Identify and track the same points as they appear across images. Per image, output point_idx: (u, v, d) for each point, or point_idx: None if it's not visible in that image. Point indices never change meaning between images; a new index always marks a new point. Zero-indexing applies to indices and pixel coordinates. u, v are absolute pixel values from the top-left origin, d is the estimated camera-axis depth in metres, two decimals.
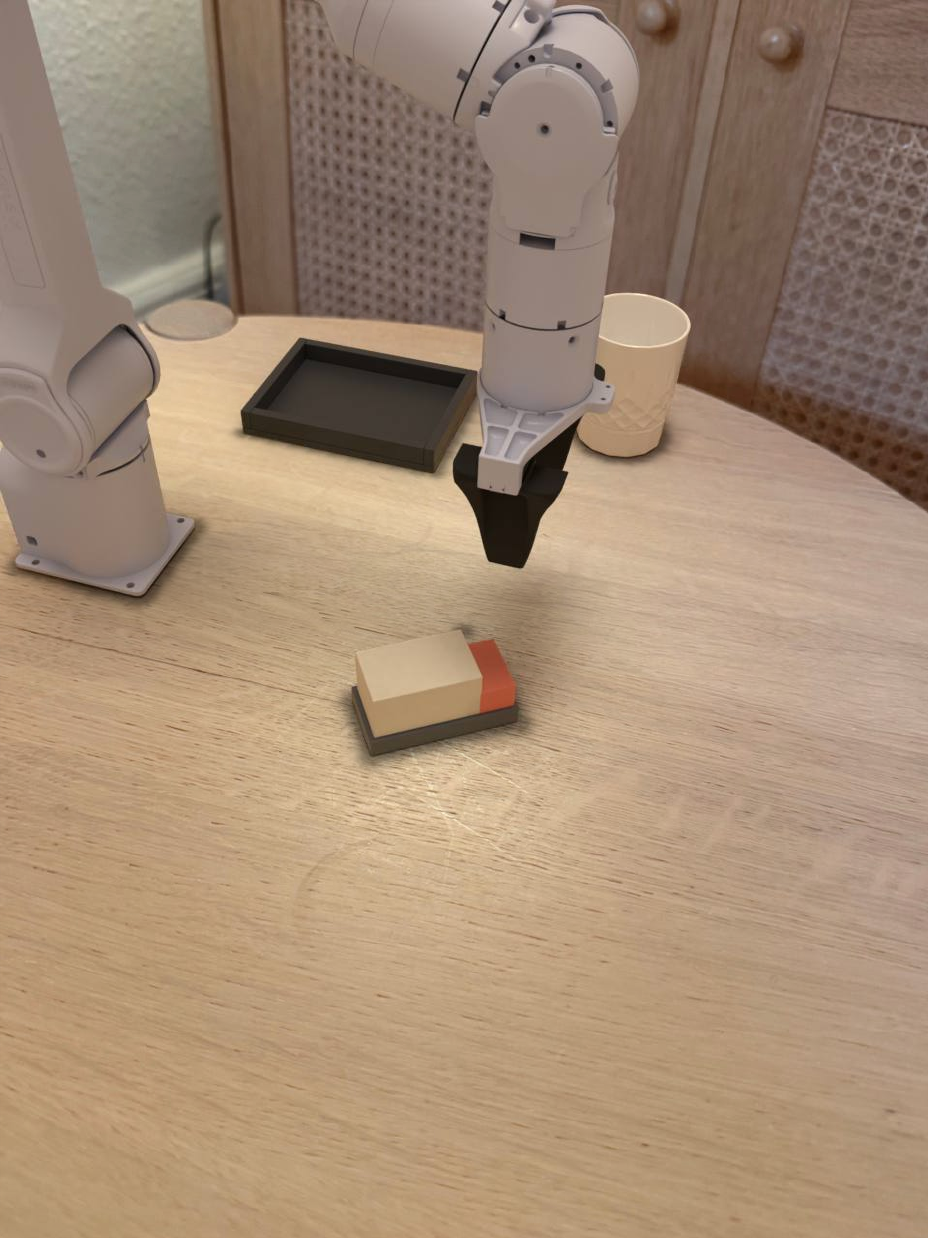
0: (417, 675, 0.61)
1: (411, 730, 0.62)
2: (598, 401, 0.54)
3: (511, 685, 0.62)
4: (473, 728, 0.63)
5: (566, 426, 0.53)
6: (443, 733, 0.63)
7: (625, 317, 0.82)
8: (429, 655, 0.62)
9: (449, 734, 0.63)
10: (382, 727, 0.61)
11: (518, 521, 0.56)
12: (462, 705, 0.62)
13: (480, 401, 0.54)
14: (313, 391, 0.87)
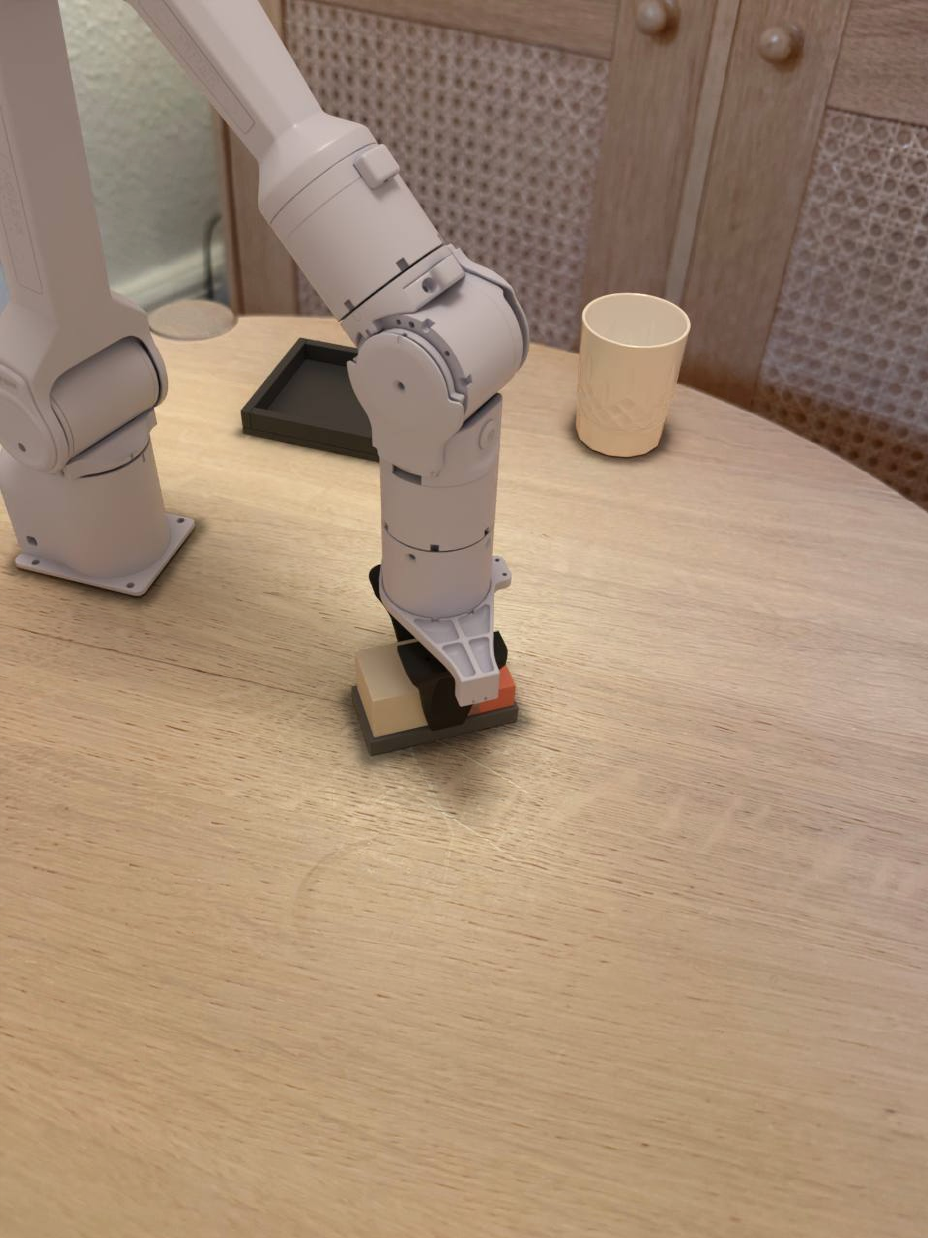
0: None
1: (411, 730, 0.62)
2: (502, 578, 0.57)
3: (511, 685, 0.62)
4: (473, 728, 0.63)
5: None
6: (443, 733, 0.63)
7: (625, 317, 0.82)
8: None
9: (449, 734, 0.63)
10: (382, 727, 0.61)
11: None
12: None
13: (412, 624, 0.55)
14: (313, 391, 0.87)
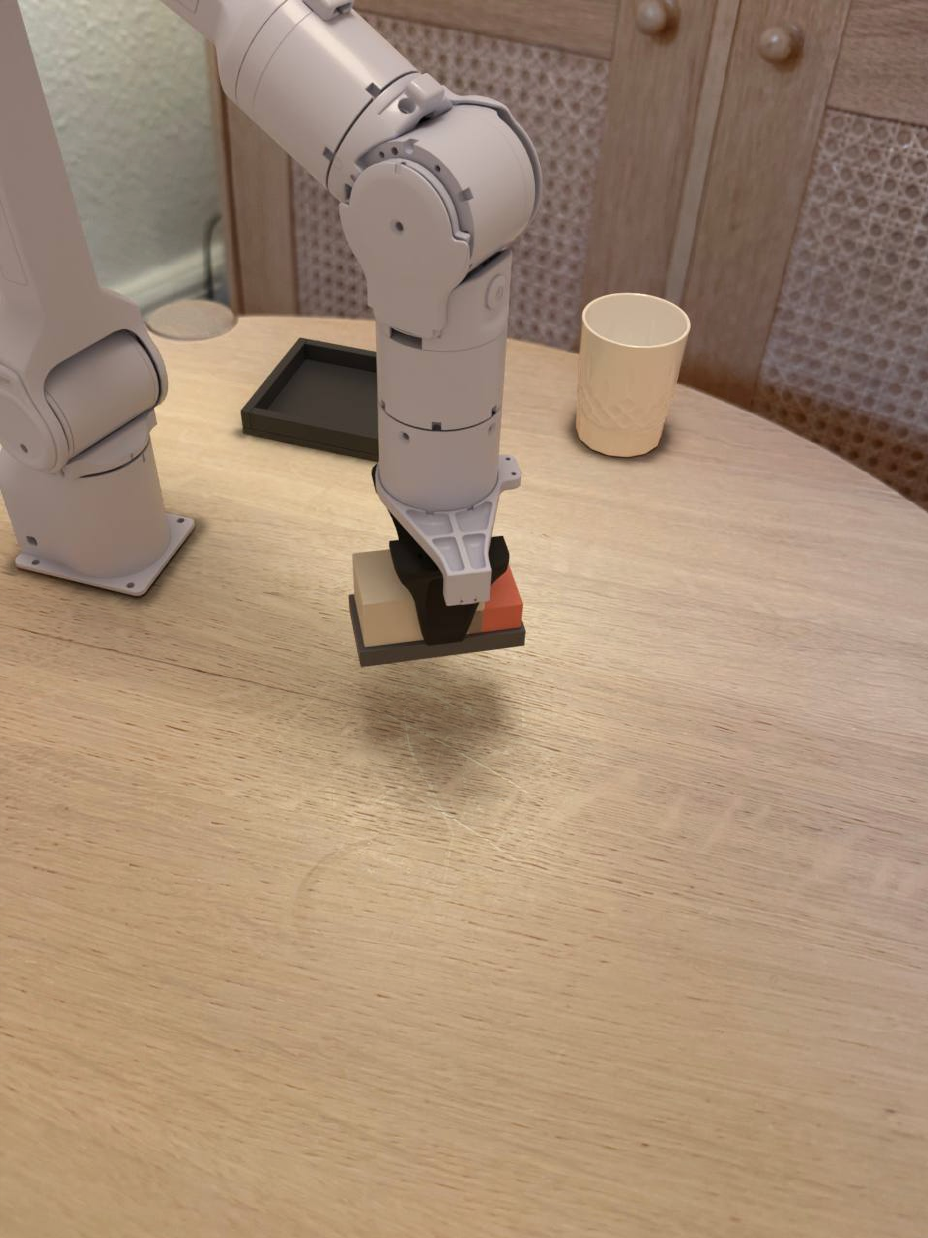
0: None
1: (405, 643, 0.57)
2: (511, 477, 0.52)
3: (518, 603, 0.57)
4: (474, 648, 0.58)
5: (495, 513, 0.51)
6: (441, 650, 0.58)
7: (625, 317, 0.82)
8: None
9: (447, 652, 0.58)
10: (373, 635, 0.56)
11: None
12: None
13: (403, 515, 0.50)
14: (313, 391, 0.87)
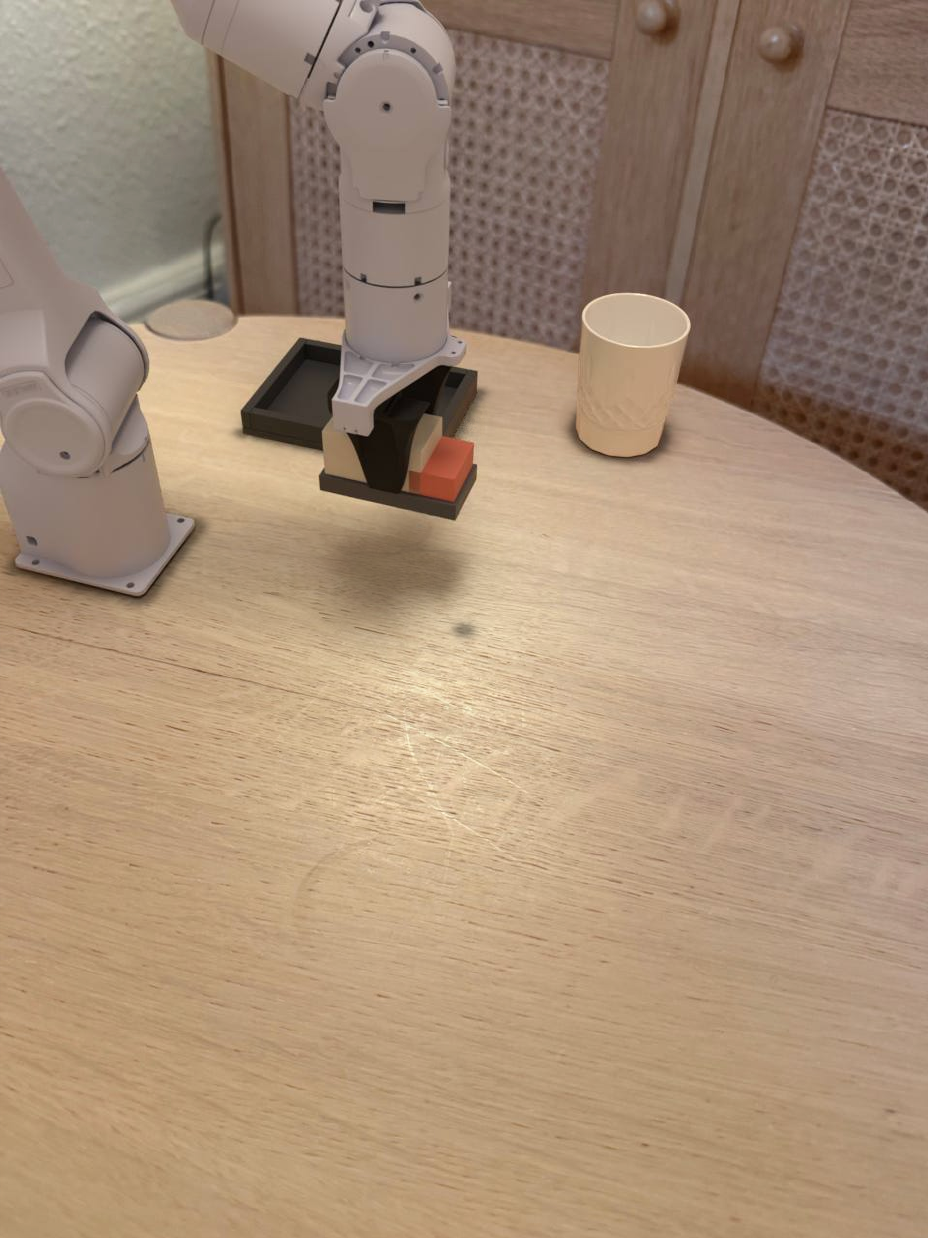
0: None
1: (357, 481, 0.67)
2: (448, 354, 0.60)
3: (451, 477, 0.65)
4: (412, 507, 0.67)
5: (418, 376, 0.59)
6: (384, 498, 0.67)
7: (625, 317, 0.82)
8: None
9: (390, 502, 0.67)
10: (331, 464, 0.67)
11: (390, 448, 0.63)
12: None
13: (341, 353, 0.60)
14: (313, 391, 0.87)
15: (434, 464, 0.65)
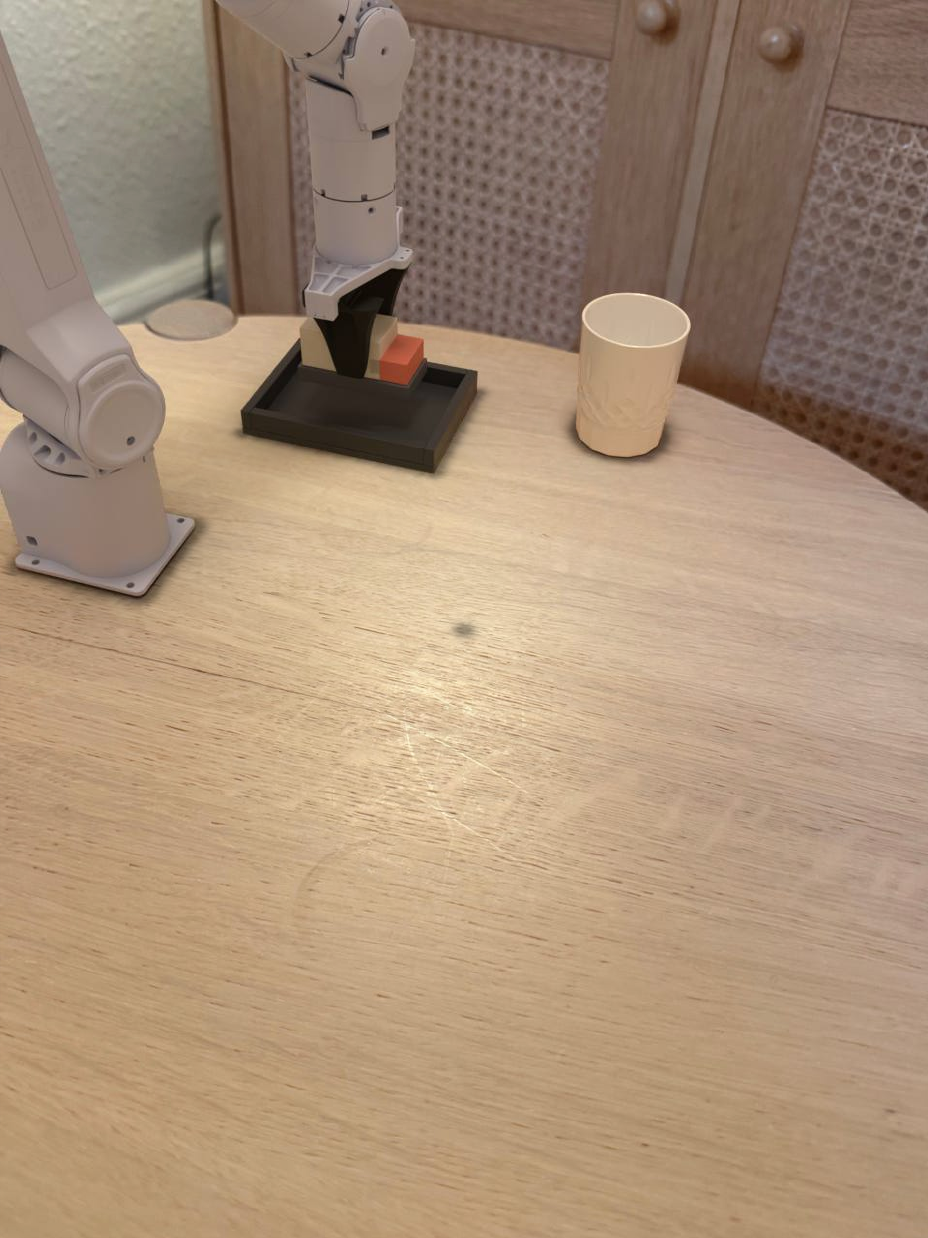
0: None
1: (328, 370, 0.82)
2: (398, 259, 0.76)
3: (404, 363, 0.80)
4: (373, 390, 0.82)
5: (373, 276, 0.75)
6: (351, 384, 0.82)
7: (625, 317, 0.82)
8: None
9: (355, 387, 0.82)
10: (307, 356, 0.82)
11: (353, 339, 0.79)
12: None
13: (313, 258, 0.75)
14: (313, 391, 0.87)
15: (390, 354, 0.81)
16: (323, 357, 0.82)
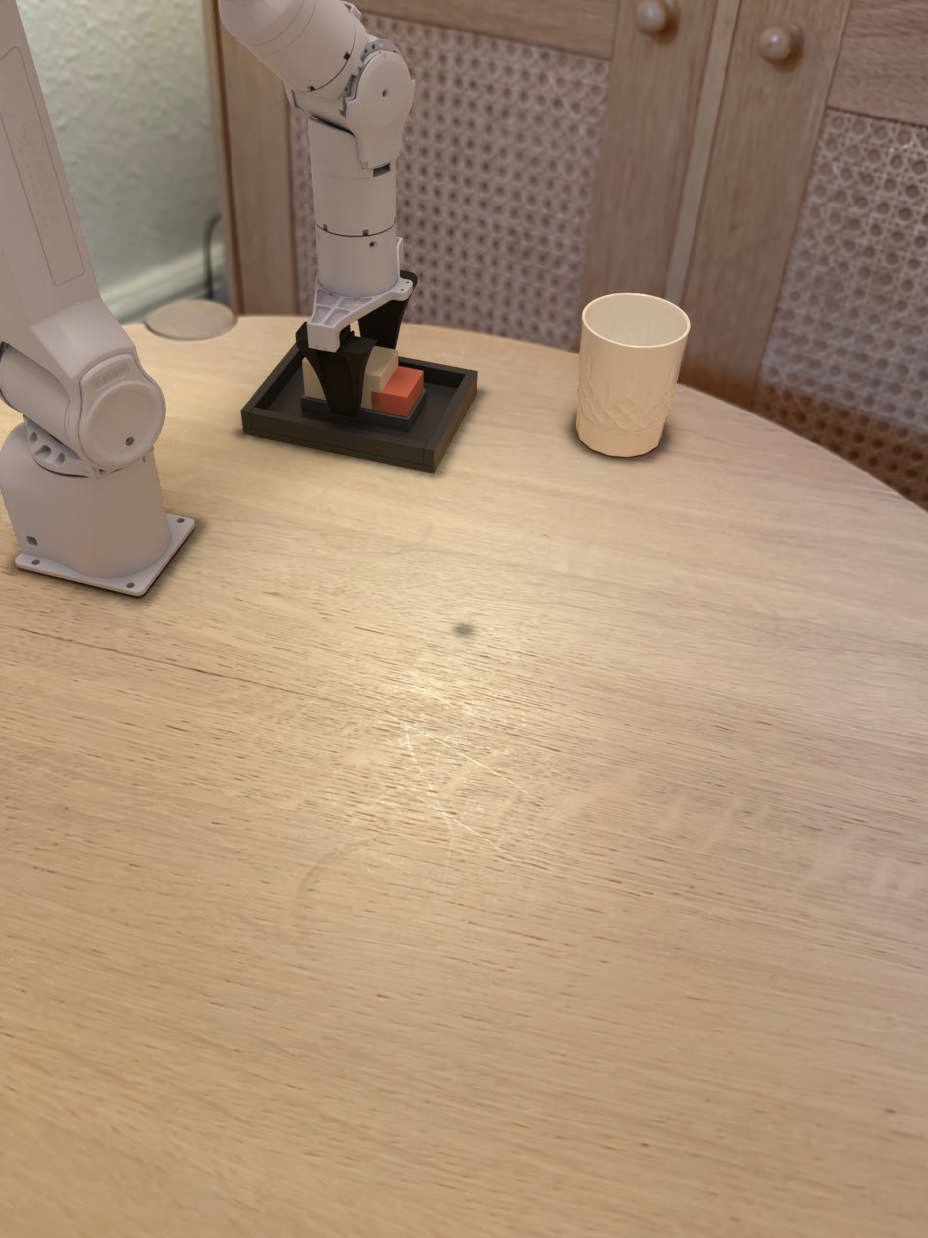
0: None
1: None
2: (398, 291, 0.77)
3: (404, 396, 0.82)
4: (374, 421, 0.84)
5: (374, 307, 0.77)
6: None
7: (625, 317, 0.82)
8: None
9: (356, 418, 0.84)
10: (309, 388, 0.84)
11: (347, 379, 0.79)
12: (367, 396, 0.83)
13: (315, 290, 0.77)
14: None
15: (391, 386, 0.83)
16: None
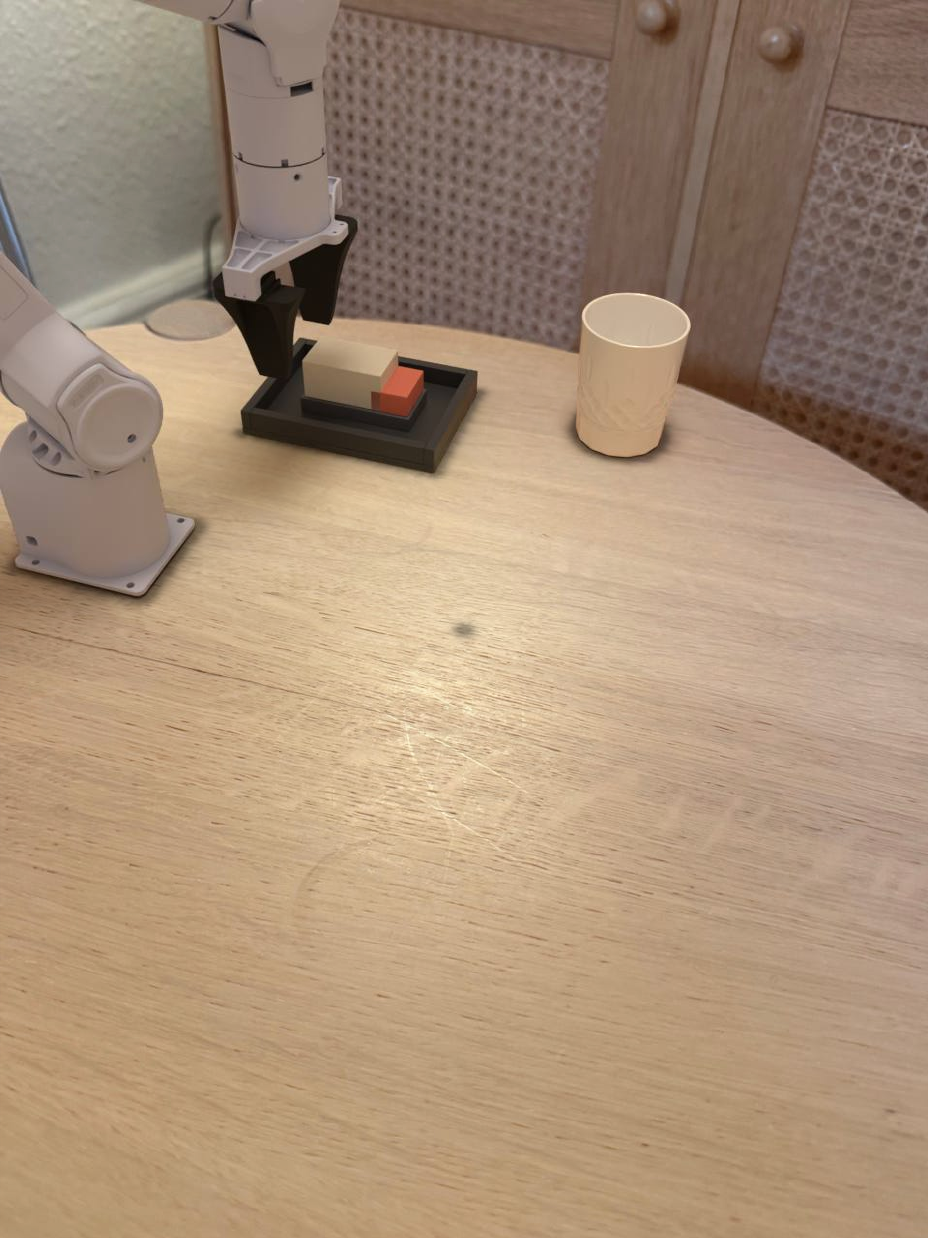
0: (342, 359, 0.83)
1: (330, 401, 0.84)
2: (330, 233, 0.68)
3: (404, 396, 0.82)
4: (374, 421, 0.84)
5: (302, 251, 0.67)
6: (352, 415, 0.84)
7: (625, 317, 0.82)
8: (362, 354, 0.83)
9: (356, 418, 0.84)
10: (309, 388, 0.84)
11: (274, 334, 0.70)
12: (367, 396, 0.83)
13: (235, 232, 0.68)
14: None
15: (391, 386, 0.83)
16: (325, 389, 0.84)
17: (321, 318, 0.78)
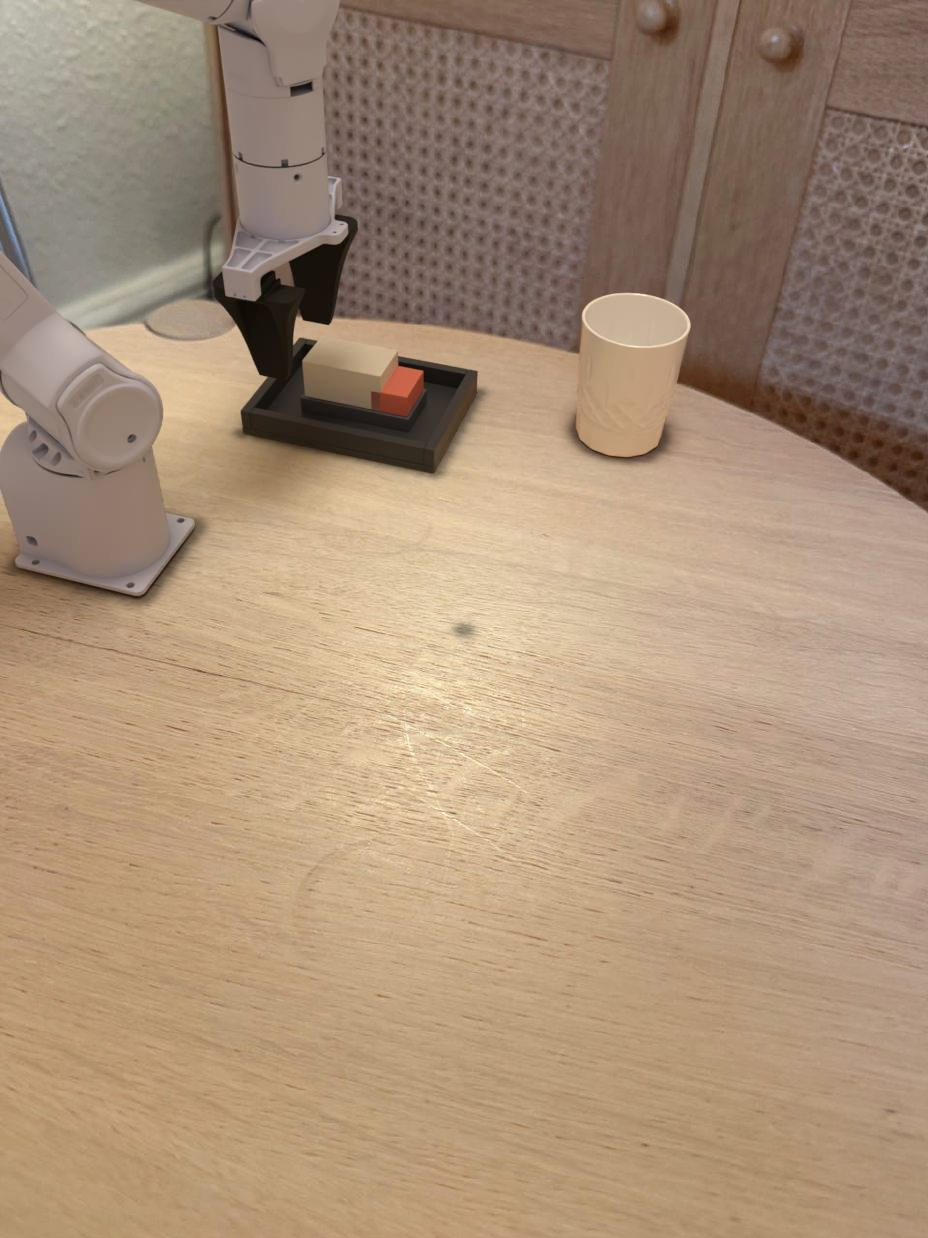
0: (342, 359, 0.83)
1: (330, 401, 0.84)
2: (330, 233, 0.68)
3: (404, 396, 0.82)
4: (374, 421, 0.84)
5: (302, 251, 0.67)
6: (352, 415, 0.84)
7: (625, 317, 0.82)
8: (362, 354, 0.83)
9: (356, 418, 0.84)
10: (309, 388, 0.84)
11: (274, 334, 0.70)
12: (367, 396, 0.83)
13: (235, 232, 0.68)
14: None
15: (391, 386, 0.83)
16: (325, 389, 0.84)
17: (321, 318, 0.78)
